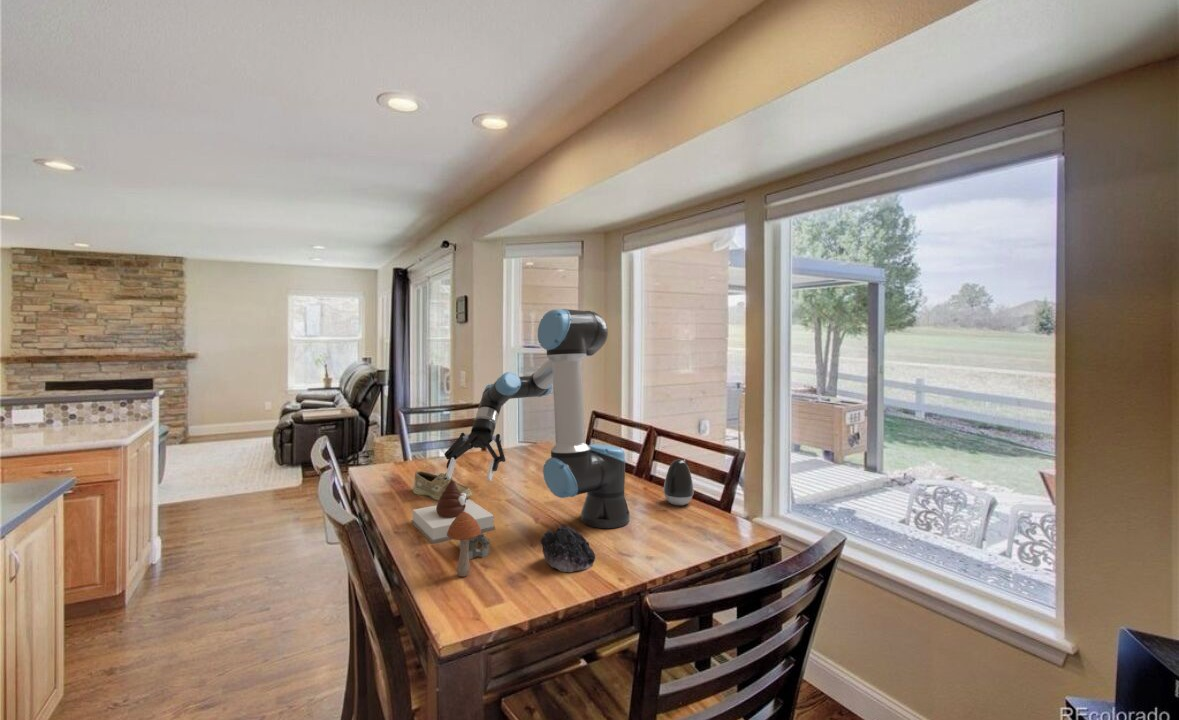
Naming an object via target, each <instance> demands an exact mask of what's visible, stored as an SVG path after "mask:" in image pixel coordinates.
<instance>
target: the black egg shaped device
mask: <svg viewBox="0 0 1179 720" xmlns="http://www.w3.org/2000/svg"><path fill="white" fill-rule="evenodd" d="M686 462H687V459H686V458H683V459H679V458H677V459H674V460H672V462H671V463H670V465H669V467H668V470H667V472H666V476H665V479H664V483H663V484H664V485H663V494H664V497H665V499H666V501H667V502H668V503H669V504H671V505H674V506H685V505H687V504H689V503H690V502H691V500H692V498H693V496H694V484H693V478H692V473H691V471H690V468H689V466H688V464H687V463H686Z"/></svg>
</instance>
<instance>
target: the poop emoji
mask: <svg viewBox="0 0 1179 720" xmlns="http://www.w3.org/2000/svg"><path fill="white" fill-rule="evenodd" d="M454 481H455V480H454ZM454 481H450V483H449V484H448V485H447V487H446V488H445V491H444V492H443V493H442V496H441V497H440V499H439V500H440V501H439V500H438V501H437V504H436V505H437V507H436V511H437V514H438V515H439V516H441V517H446V518H449V517H456V516H458V515H459V514H461V513H462V512H464V509H465V503H466V500H468V498H467V495H466V494H465V493H460V492H459V490H458V489H457V486H456V484H455V482H456V481H455V482H454Z"/></svg>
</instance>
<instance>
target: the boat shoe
mask: <svg viewBox="0 0 1179 720" xmlns="http://www.w3.org/2000/svg"><path fill="white" fill-rule="evenodd" d="M450 481H454V482H455V484H456V486H457V489H458V490H459V492H460V493H465V494H466V495H467V499H468V498H470V497H472V495H473V493H472V491H471V489H470V487H468V486H466V485H463V484H460V483H458V482H456V480H455V479H454V478H453V476H451V479H450V480H449V479H448V478H447V477H446V472H445V473H442V472H441V473H439V474H433V473H431V472H428V471H424V470H423V471H422V470H417V471H415V473H414V481H413V487H412V493H413V494H415V495H418V496H422V497H428V498H429V497H430V498H431V499H433V500H436V501H438V502H439V501H440V500H439V499H440V497H441V496H442V493H443V492H444V491H445V488H446V487H447V485H448V484H449V483H450Z"/></svg>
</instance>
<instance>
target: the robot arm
mask: <svg viewBox="0 0 1179 720" xmlns="http://www.w3.org/2000/svg"><path fill="white" fill-rule="evenodd" d="M608 337H609V329H608V324H607V322H606V321H605V319H604V318H603V316H602V315H600V314H599V313H597V312H595V311H591V310H578V309H568V308H567V309H566V308H561V309H560V308H558V309H550V310H548V311H547V312H545V314H544V315H543V316H542V318H541V319H540V321H539V323H538V326H537V341H538V343H539V345H540V347H541V348H542V349H544V350H545V351H546V357H547V358H548V360H547V361H545V362H544V363H543V364H542V365H541V366H540V367H539V368H538V369H537V370H535V372H533V373H532V374H531V375H529V376H528V375H525V376H518V375H517V374H516V373H513V372H511V371H506V372H504V373H503V374H502V375H500V376H499V377H498V378H497V379H496V381H494V383H490V384H487V385H485V387H484V390H483V392H482V395H481V399H480V403H479V405H478V409H477V411H476V414H475V416H474V421H473V424H472V427H471V430H470V433H469V434H465V432H461V433H460V435H459V437H458V438H457V439H456V440H455V442H454V443H452V445H451V446H450V447H449V448H448V449H447V450H446V451H445V453H444V454H443V455H444V456H445V459H446V460H447V463H446V468H447V470H446V472H445V473H446V477H447V478H448V479H449V480H450V479H451V477H453V473H454V471H455V470H454V469H455V467H456V464H457V461H456V460H457V459H458V458H459V457H461V456H463V455H464V454H465V453H466V452H468V451H469V450H472V449H473V448H474V449H478V448H480V449H484V448H486V450H487V451H488V452H489V454H490V455H491V457H492V459H491V461H490V464H489V467H488V471H487V475H486V478H487V481H488V482H492V480H493V476H494V472H497V471H498V467H499V465H500V463H504V462H506V457H505V454H504V450H503V446H502V437H501V434H499V433H496V435H494V433H495V429H496V426H497V422H498V420H499V416H500V412H501V409H502V407H503V406H504V404H506V403H507V402H508V401H509V400H511V399H523V398H524V399H525V398H537V397H538V398H540V397H545V396H548V395H549V394H551V392H552V390H553V408H554V409H553V411H554V430H555V431H554V432H555V433H554V435H555V438H554V439H555V444H554V445H553V447H552V448H551V449H550V457H549V458H548V459H547V460H546V461H545V464H544V465H543V468H542V469H543V470H542V471H543V474H542V475H543V480H544V482H545V484H546V487H547V488H548V489H549V491H550V492H551V493H552V494H553V495H554V496H556V497H558V498H560V499H562V498H569V497H571V498H573V497H576V496H579V495H583V494H586V496H585V500H584V502H583V505H582V506H583V507H582V508H581V511H580V521H581V522H582V523H583V524H585V525H586V526H589V527H593V528H598V529H616V528H620V527H624V526H626V525H628V524H630V519H631V518H630V516H631V515H630V511H629V507H628V503H627V500H626V495H625V488H626V487H625V482H626V463H627V462H626V453H625V450H624V449H623V448H622V447H618V446H613V445H609V444H599V443H597V444H596V443H594V444H587V443H586V435H585V412H584V411H585V410H584V408H585V407H584V388H583V387H584V386H583V367H582V366H583V365H582V364H583V362H582V361H583V360H584V359H585V358H586V357H592V356H594V354H596V353H597V352H598V351H600V350H601V349H602V348H603V346H604V345H605V343H606V342H607V339H608ZM493 441H494V442H495V443H496V447H497V450H498V453H499V454H498V455H499V456H498V455H497V454H496V452H495V450H494V449H493V447H492V446H491V443H492V442H493Z"/></svg>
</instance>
